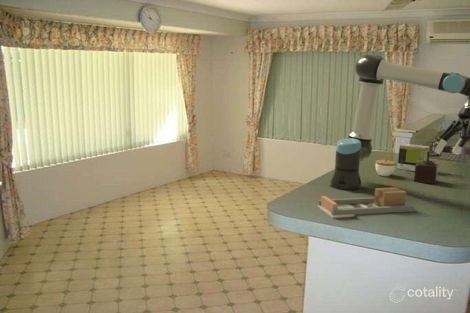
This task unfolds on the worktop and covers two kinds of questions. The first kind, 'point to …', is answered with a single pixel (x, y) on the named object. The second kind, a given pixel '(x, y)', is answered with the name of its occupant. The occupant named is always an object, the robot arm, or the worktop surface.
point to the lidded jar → (385, 167)
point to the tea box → (411, 156)
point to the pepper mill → (427, 171)
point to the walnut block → (389, 197)
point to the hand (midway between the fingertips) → (445, 153)
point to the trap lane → (356, 207)
